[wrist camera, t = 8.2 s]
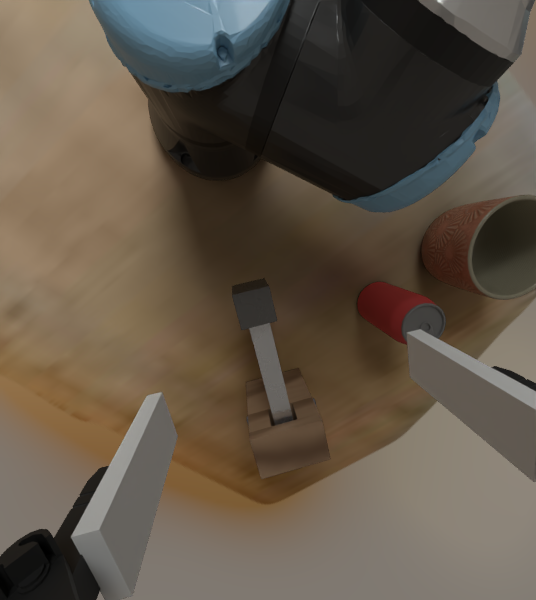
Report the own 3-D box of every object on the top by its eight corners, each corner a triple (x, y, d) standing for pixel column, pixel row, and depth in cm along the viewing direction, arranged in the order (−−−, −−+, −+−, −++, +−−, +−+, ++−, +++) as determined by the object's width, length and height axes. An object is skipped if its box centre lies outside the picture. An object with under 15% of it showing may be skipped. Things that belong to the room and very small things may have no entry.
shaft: (232, 286, 33) (231, 295, 29) (264, 278, 34) (269, 285, 29) (273, 438, 39) (279, 467, 35) (300, 430, 40) (309, 458, 35)
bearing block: (245, 382, 45) (249, 440, 32) (298, 368, 45) (322, 420, 33) (254, 412, 47) (261, 479, 34) (305, 398, 47) (330, 459, 35)
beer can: (370, 328, 45) (417, 361, 34) (347, 300, 44) (388, 325, 32) (402, 302, 45) (460, 326, 33) (379, 272, 43) (432, 287, 31)
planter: (474, 284, 46) (546, 300, 35) (405, 282, 44) (458, 299, 33) (493, 206, 43) (577, 198, 32) (419, 201, 41) (482, 191, 31)
